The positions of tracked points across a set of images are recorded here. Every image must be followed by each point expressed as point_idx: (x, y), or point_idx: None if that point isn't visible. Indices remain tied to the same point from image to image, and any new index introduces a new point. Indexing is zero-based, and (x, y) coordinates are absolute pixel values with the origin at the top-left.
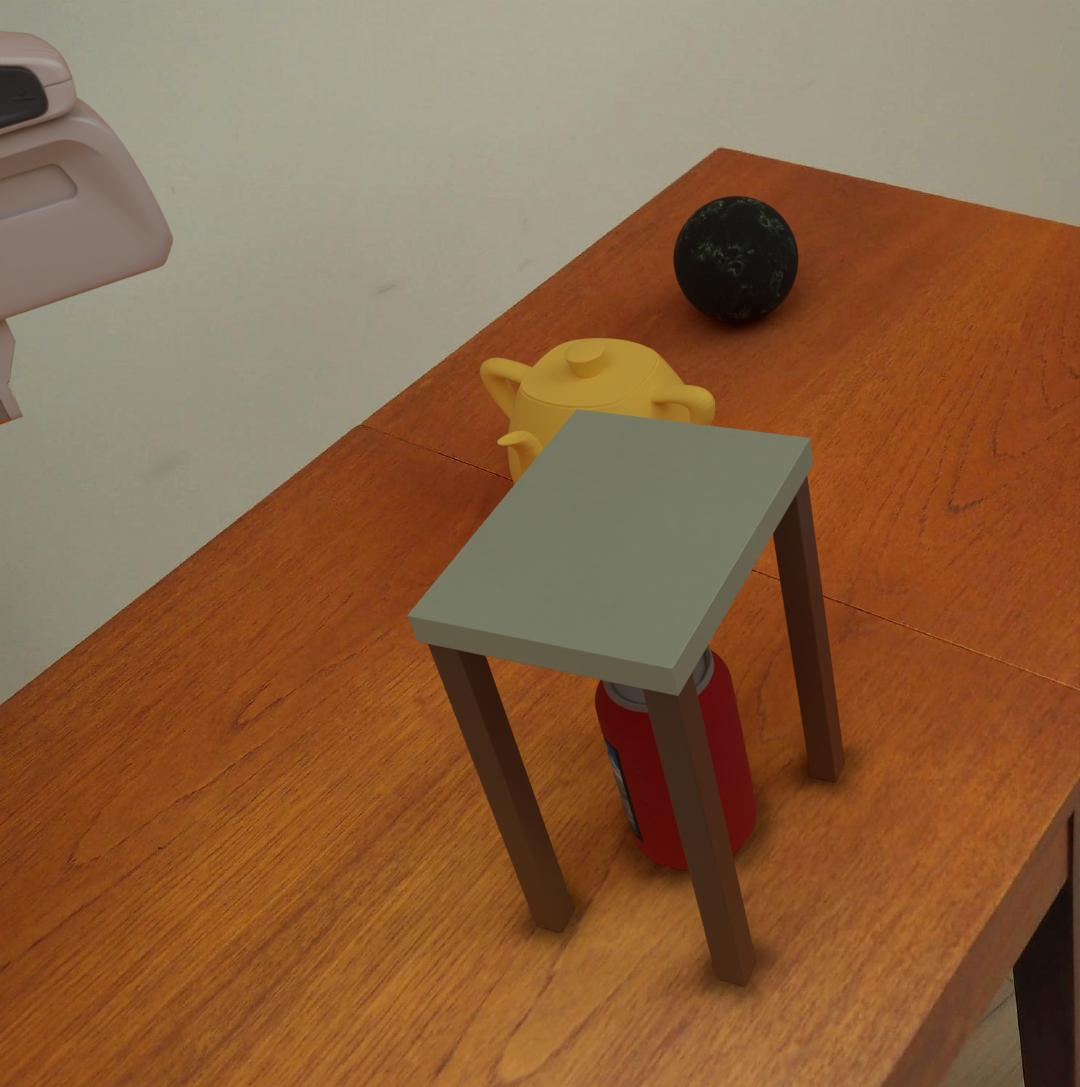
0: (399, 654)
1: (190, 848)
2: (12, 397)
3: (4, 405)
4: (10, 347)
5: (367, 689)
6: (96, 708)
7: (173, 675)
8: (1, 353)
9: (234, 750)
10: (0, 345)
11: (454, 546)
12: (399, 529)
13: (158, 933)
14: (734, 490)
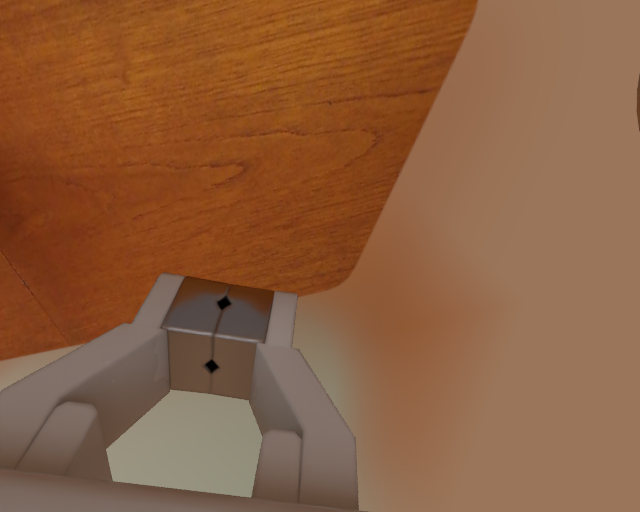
0: (123, 137)
1: (315, 84)
2: (146, 299)
3: (173, 296)
4: (30, 381)
5: (156, 123)
6: (309, 250)
7: (260, 240)
8: (67, 380)
9: (255, 146)
10: (45, 398)
11: (50, 205)
12: (82, 250)
13: (365, 26)
14: None
